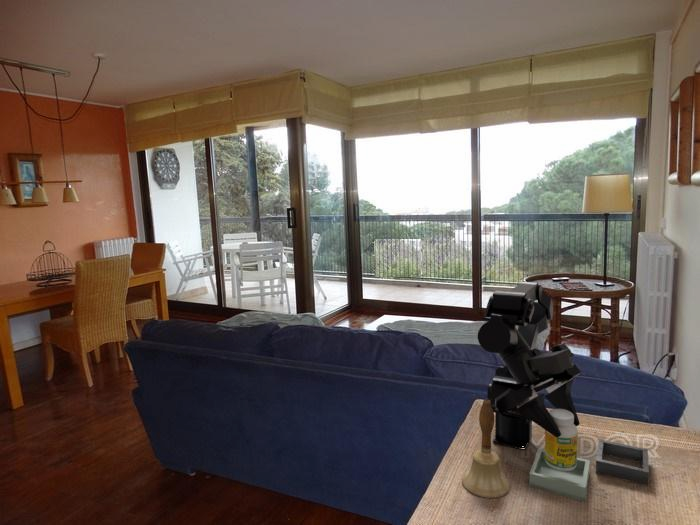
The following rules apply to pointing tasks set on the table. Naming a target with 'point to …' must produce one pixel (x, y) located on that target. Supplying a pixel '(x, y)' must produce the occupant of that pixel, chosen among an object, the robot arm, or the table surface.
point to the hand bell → (486, 462)
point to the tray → (560, 477)
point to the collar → (620, 469)
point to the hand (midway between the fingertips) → (568, 430)
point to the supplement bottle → (562, 442)
